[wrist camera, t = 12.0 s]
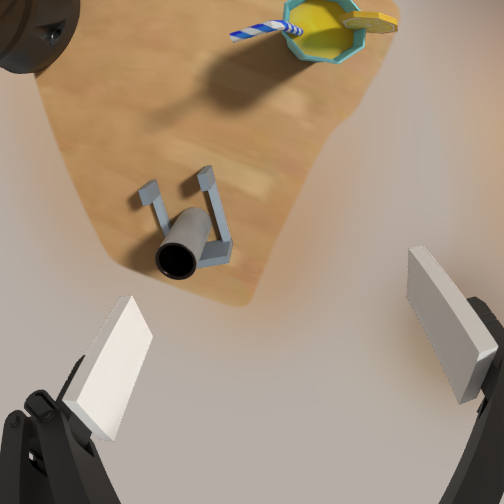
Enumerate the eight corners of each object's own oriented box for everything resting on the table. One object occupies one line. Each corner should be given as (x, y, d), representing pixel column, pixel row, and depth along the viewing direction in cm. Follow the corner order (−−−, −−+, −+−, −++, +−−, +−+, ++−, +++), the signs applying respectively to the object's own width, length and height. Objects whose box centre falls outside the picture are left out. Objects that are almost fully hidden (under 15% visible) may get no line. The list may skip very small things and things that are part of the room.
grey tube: (171, 219, 42) (146, 256, 33) (197, 200, 40) (177, 234, 31) (192, 244, 43) (174, 287, 34) (218, 227, 42) (205, 267, 33)
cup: (253, 88, 34) (245, 84, 20) (233, 29, 30) (213, -7, 17) (367, 63, 31) (423, 50, 18) (348, 5, 28) (392, -36, 15)
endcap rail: (149, 181, 39) (134, 193, 35) (211, 165, 38) (203, 175, 34) (174, 255, 44) (164, 273, 40) (232, 244, 43) (229, 262, 39)
